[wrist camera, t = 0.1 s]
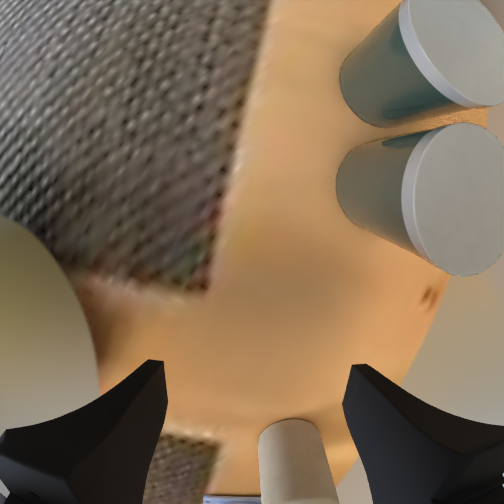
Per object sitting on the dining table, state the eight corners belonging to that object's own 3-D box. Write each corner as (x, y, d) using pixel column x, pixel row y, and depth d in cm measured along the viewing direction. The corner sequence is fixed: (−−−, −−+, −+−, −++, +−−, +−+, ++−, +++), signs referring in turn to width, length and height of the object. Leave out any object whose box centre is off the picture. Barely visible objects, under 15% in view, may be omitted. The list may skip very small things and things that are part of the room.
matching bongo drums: (411, 234, 20) (508, 277, 11) (331, 229, 20) (402, 276, 10) (416, 58, 17) (503, 11, 8) (338, 39, 17) (399, -39, 7)
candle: (306, 409, 24) (331, 506, 14) (327, 443, 25) (353, 529, 15) (246, 432, 24) (249, 529, 14) (273, 463, 25) (283, 549, 16)
